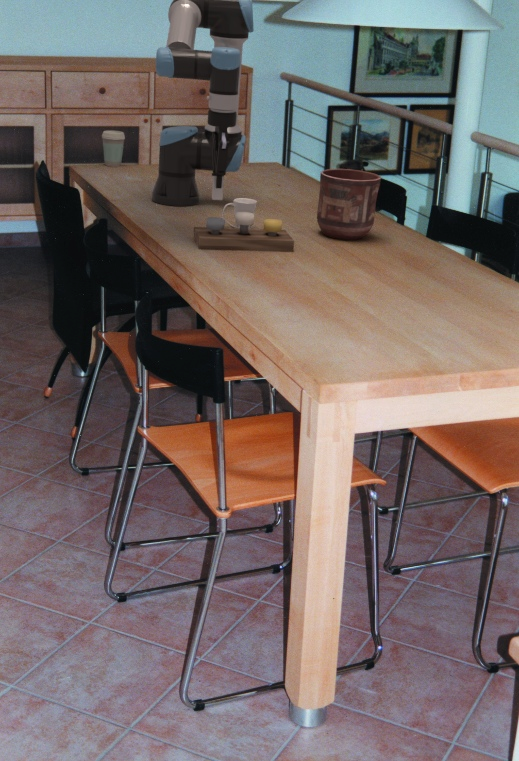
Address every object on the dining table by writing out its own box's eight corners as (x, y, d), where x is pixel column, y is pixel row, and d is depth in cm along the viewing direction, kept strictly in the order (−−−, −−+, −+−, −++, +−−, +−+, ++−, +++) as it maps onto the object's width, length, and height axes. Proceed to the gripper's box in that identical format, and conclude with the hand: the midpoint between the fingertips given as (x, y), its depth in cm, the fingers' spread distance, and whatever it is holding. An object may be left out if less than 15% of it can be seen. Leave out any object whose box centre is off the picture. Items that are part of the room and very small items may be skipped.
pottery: (375, 245, 282) (382, 182, 275) (314, 239, 282) (320, 176, 276) (372, 231, 298) (379, 171, 292) (314, 225, 299) (320, 166, 292)
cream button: (233, 230, 272) (234, 211, 270) (251, 230, 273) (252, 212, 271) (236, 234, 267) (237, 215, 265) (254, 235, 268) (255, 216, 266)
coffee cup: (128, 167, 360) (129, 134, 356) (106, 167, 356) (106, 134, 352) (119, 162, 367) (119, 130, 362) (97, 163, 363) (98, 130, 358)
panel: (193, 237, 274) (194, 226, 273) (284, 240, 279) (285, 229, 278) (199, 249, 263) (199, 238, 262) (293, 251, 268) (294, 240, 267)
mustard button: (261, 236, 274) (262, 218, 272) (278, 237, 275) (280, 219, 273) (264, 241, 270) (266, 223, 268) (282, 242, 271) (283, 223, 269)
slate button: (204, 235, 271) (205, 216, 269) (222, 235, 272) (223, 217, 270) (206, 240, 266) (208, 221, 264) (225, 240, 267) (226, 221, 265)
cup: (256, 231, 286) (259, 203, 283) (223, 229, 285) (224, 202, 282) (253, 225, 293) (255, 198, 290) (220, 223, 291) (221, 196, 288)
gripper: (204, 105, 261) (200, 193, 270) (211, 113, 249) (206, 204, 259) (232, 106, 262) (226, 193, 272) (240, 114, 251) (234, 205, 260)
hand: (217, 199), depth 265 cm, fingers closed
